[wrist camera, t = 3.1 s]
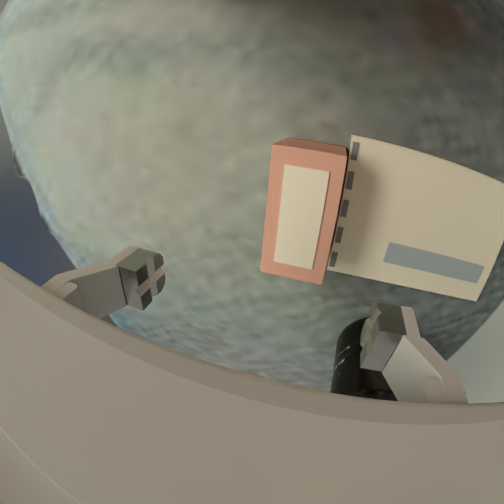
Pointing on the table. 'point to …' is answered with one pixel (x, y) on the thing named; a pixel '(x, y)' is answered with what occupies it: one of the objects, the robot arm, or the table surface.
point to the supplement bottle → (356, 369)
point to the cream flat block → (417, 220)
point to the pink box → (302, 208)
